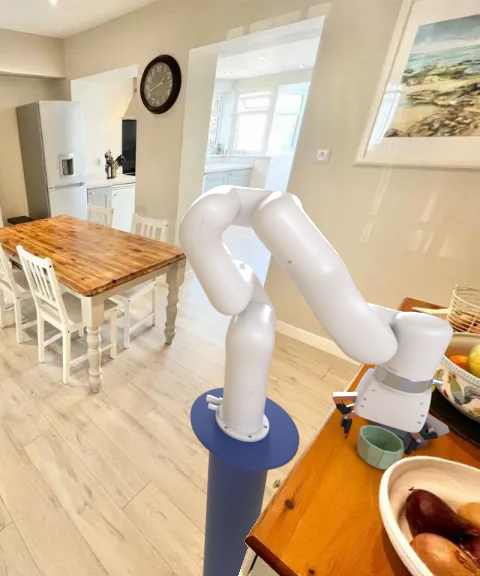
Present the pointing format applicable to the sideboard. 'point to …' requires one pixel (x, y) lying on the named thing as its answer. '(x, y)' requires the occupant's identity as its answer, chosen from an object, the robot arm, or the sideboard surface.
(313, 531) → the sideboard surface
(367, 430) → the top bowl
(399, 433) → the bottom bowl
